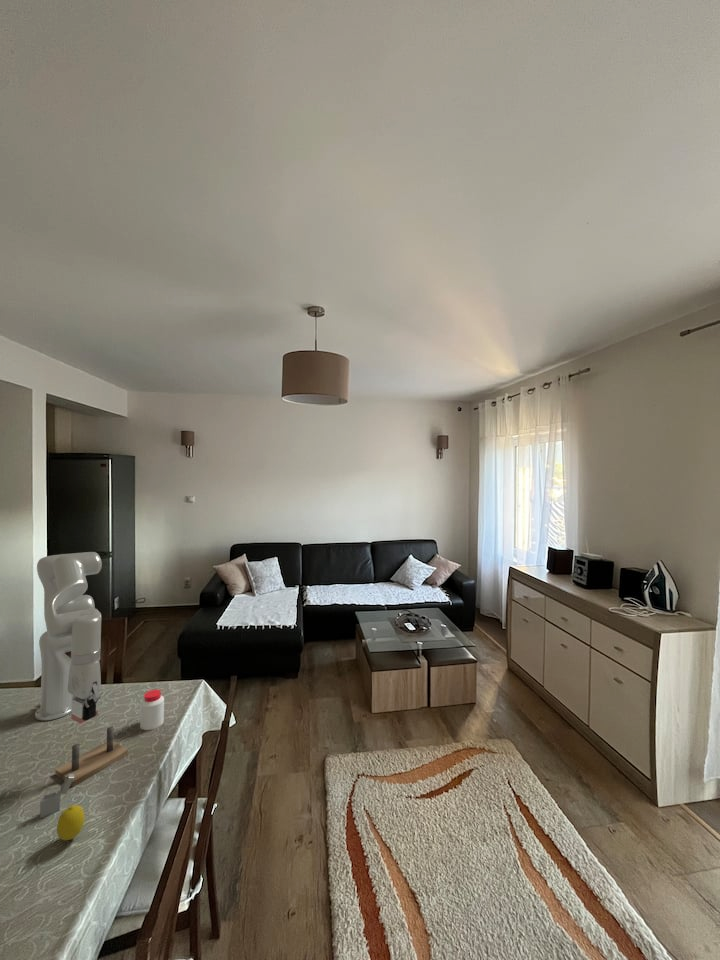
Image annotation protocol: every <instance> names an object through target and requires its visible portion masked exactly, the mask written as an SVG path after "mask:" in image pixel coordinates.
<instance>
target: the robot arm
mask: <svg viewBox="0 0 720 960" xmlns="http://www.w3.org/2000/svg"><path fill="white" fill-rule="evenodd" d="M102 564H103V561H102V559H101V556H100V555H99V553H97V552H95V551H88V552H87V551H86V552H85V551H83V552H75V553H73V552H72V553H60V554H53V555H47V556H44V557H42V558H40V559H39V560H37V565H36V572H37V575H38V578H39V580H40V582H41V584H42V587H43V593H44V594H43V597H44V598H43V602H44V603H43V607H44V608H43V610H44V611H43V615H44V621H45V628H46V631H45V632H43V633H42V634H41V635H40V637H39V642H38V646H39V652H40V658H41V675H40V676H41V679H40V682H41V684H40V707H39V708H38V709H37V710H35V713H34V717H35V720H38V721H43V722H44V721H51V720H56V719H60V718H62V717H65V716H67V715H69V714H72V699H73V698H76V697H78V698H80V699H85V706H86V707H84V720H85V722H87V721H88V719H89V720H90V719H91V720H92V719H93V718H95V717H97V716H96V704H97V701H98V702H99V700H100V699H101V694H100V692H101V687H102V686H101V685H102V681H101V680H102V679H101V678H102V676H101V663H100V660H101V648H102V647H101V646H102V644H101V643H102V642H101V640H102V639H101V638H102V636H101V635H102V613H101V612H100V611H99V610H98V608H96V607H95V600H94V599H93V597H92V596H91V595H88V594H85V593H86V591H88V588H89V587H88V586H89V585H88V581H87V577H86V576H91V575H97V574H99V573H100V572H101V570H102V567H103V565H102ZM68 652H70V653H71V654H70V656H69V655H67V654H66V653H68ZM90 693H93V694H90ZM90 697H93V698H92V699H91V700H90V701H89V698H90ZM86 720H87V721H86Z"/></svg>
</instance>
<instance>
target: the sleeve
mask: <svg viewBox="0 0 720 960" xmlns="http://www.w3.org/2000/svg"><path fill="white" fill-rule="evenodd" d="M90 694H93V693H92V692H91V693H90ZM92 698H93V697H90V698H89V701H90V700H91V699H92ZM84 707H86V706H85V699H80V698H78V697H76V698H73V697H72V712H71V720H73V721H75V722H76V723H79V724H82V723H84V722H87V721H88V720H90V719H88V720H86V721H85V720H84ZM98 715H99V700H98V701H97V704H96V716H95V717H97V716H98Z"/></svg>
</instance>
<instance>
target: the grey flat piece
mask: <svg viewBox="0 0 720 960" xmlns="http://www.w3.org/2000/svg"><path fill="white" fill-rule="evenodd" d="M73 779H74V774H68V776H67V777H66V779H65V781H64V780H63V784H62V786H61V788H59V790H58V791H56V789H53V790H50V791H47V792H46V793H45V795H43V796H41V797H40V801H39V802H40V804H39V805H40V808H39V812H40V813H39V819H43V818H45V817H47V816H49V815H52V814H54V813H57V812H59V811H61V795H66V794H67V792H68V790H69V789H70V787H71V786H70V785H71V783H72V781H73Z"/></svg>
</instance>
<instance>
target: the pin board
mask: <svg viewBox="0 0 720 960" xmlns="http://www.w3.org/2000/svg"><path fill="white" fill-rule="evenodd" d="M114 729H115V728H114V726H108V728H107V729H106V741H105V742H104V743H102V744H100V745H98V746H97V747H95V748H93V749H91V750H89V751H87V752H85V753H84V754H82V755H80V744H79V743H75V744H73V745H72V747H71V760H70V761H68V762H66V763H64V764H62V765H60V766H59V767H57V768H55V773H54V774H55V775H56V776H57V777H58V778H60V779H61V780H62V779H63V780H62V781H63V782H64V781H65V779H66V777H67V776H68V774H74V779H73V781H72V783H71V785H70V787H72V788H74V787H75V786H77V785H79V784H80V783H82V782H84V781H86V780H87V779H89V778H91V777H92V776H94V775H96V774H98V773H99V772H101V771H103V770H104V769H106V768H108V767H109V766H111V765H113V764H114V763H116V762H118V761H120V760H121V759H123V758H125V757H126V756H128V755H129V749H127V748H125V747H124V746H122V745H120V744H119V743H118V742H115V741H114V732H115V731H114Z"/></svg>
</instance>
